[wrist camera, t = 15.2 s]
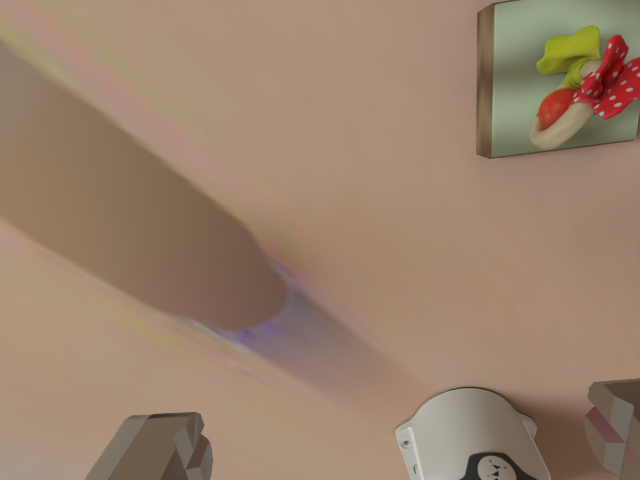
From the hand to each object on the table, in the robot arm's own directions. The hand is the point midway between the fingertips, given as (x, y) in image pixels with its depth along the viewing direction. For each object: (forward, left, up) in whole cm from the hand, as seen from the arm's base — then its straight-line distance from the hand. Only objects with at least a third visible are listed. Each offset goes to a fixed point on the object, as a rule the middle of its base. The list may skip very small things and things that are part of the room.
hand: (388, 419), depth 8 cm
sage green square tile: (+6, -20, -34) cm, 40 cm away
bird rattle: (+4, -18, -30) cm, 36 cm away
